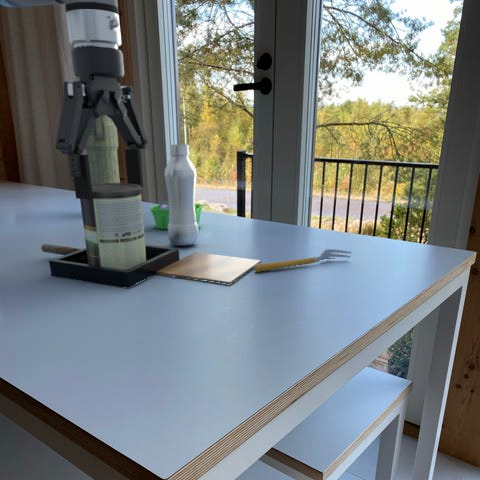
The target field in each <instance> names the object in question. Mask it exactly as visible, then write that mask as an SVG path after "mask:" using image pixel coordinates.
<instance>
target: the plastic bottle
mask: <svg viewBox="0 0 480 480" xmlns="http://www.w3.org/2000/svg"><path fill="white" fill-rule="evenodd" d="M169 156H171V157H170V159H169V161H168V162H167V164H166V166H165V168H164V171H163V172H164V173H163V174H164V179H165V180H164V181H165V187H166V191H167V192H168V194H167V200H168V202H169V224H168V229H167V237H168V240H169V242H170V243H171V244H172V245H174V246H182V247H185V246H189V245H194V244H196V243H197V241H198V240H199V234H200V231H199V224H198V225H197V222H196V213H195V205H196V202H195V199H196V183H197V171H196V168H195V165H194V164H193V163H192V161H191V159H190V158H189V156H190V146H189V144H170V145H169Z"/></svg>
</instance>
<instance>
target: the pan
mask: <svg viewBox="0 0 480 480" xmlns="http://www.w3.org/2000/svg"><path fill="white" fill-rule="evenodd" d="M40 249H41V251H42V252H43V253H45V254H46V253H47V254H53V255H60V256H58V257H55V258H52V259H49V260H48V264H49V270H50V276H51V277H55V276H56V278H61V277H62V278H61V279H67V278H69V279H68V280H73V279H76V280H75V281H79V280H82V282H85V281H87V283H92V282H94V283H93V284H98V285H104V284H105V286H110V285H111V286H110V287H116V286H118V287H117V288H122V287H127V288H126V289H128V288H129V287H131V286H133V285H135V284H136V283H138V282H140V281H142V280H144V279H147V278H148V277H151V276H153V275H155V274H157V273H156V272H157V271H158V270H160V269H162V268H164V267H166V266H168V265H170V264H172V263H174V262H176V261H178V260H180V248H175V247H168V246H160V245H159V246H158V245H151V244H145V251H146V261H145V262H143V263H141V264H139V265H136V266H134V267H132V268H130V269H127V270H122V269H115V268H108V267H102V266H95V265H88V257H87V249H86V247H85V248H79V247H71V246H64V245H55V244H49V243H44V244H42V245H41V247H40ZM155 276H156V275H155ZM153 277H154V276H153ZM151 278H152V277H151ZM147 280H148V279H147ZM135 286H136V285H135ZM133 287H134V286H133ZM131 288H132V287H131ZM129 289H130V288H129Z"/></svg>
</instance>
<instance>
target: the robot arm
mask: <svg viewBox="0 0 480 480" xmlns="http://www.w3.org/2000/svg"><path fill="white" fill-rule="evenodd" d="M0 5H1V6H3V7H8V8H20V9H27V8H30V7H31V8H32V7H40V6H41V7H42V6H51V5H64V6H65V15H66V17H65V18H66V25H67V34H68V43H69V44H70V45H71V46H73V48H72V49H71V50H70V55H71V63H72V64H71V65H72V72H73V75H74V76H75V77H76V78H79V80H68V81H67V80H66V81H64V82H63V104H62V107H61V111H60V112H61V113H60V119H59V123H58V128H57V135H56V140H55V149H56V150H57V151H61V153H62V154H63V155H67V156H68V164H69V170H70V171H69V172H70V175H71V177H72V179H73V186H74V192H75V193H74V194H75V199H77V200H80V199H89V200H90V199H93V193H92V185H91V177H90V168H89V160H88V155H87V154H84V151H85V147H86V144H87V141H88V139H89V136H90V134H91V131H92V129H93V126H94V124H95V121H96V119H97V118H99V117H100V115H107V117H109V118H111V119H112V121H113V123H114V125H115V126H116V128H117V132H118V134H119V135H120V137H121V138H122V140H123V142H124V143H125V145H126V146H127V148H126V149H124V157H125V159H124V160H125V167H126V168H125V169H126V179H127V180H126V181H127V183H130V184H137V185H140V186H141V187H142V189H143V188H144V181H143V180H144V179H143V170H142V166H143V162H142V161H143V159H142V150H145V149H147V145H148V143H149V138H148V137H147V132H146V130H145V129H146V128H145V127H144V124H143V120H142V118H141V115H140V112H139V108H138V105H137V104H136V100H135V94H134V89H133V86H132V85H121V84H120V80H121V79H122V78H123V77H125V65H124V54H123V52H122V50H121V49H120V48H119V47H120V46H121V45H122V35H121V25H120V13H119V4H118V0H0Z"/></svg>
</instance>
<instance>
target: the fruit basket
mask: <svg viewBox="0 0 480 480" xmlns="http://www.w3.org/2000/svg"><path fill="white" fill-rule="evenodd" d="M166 195H168V192H167V194H166ZM203 207H204V206H203V204H195V213H196V222H197V225H198V226H199V223H200V218H201V213H202V210H203ZM149 210H150V212H151V213H152V216H153V218H154V222H155V225H156V228H157V229H158V230H168V224H169V201H164V202H161V203H160V204H157V205H154V206H152V207H150V208H149Z"/></svg>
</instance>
